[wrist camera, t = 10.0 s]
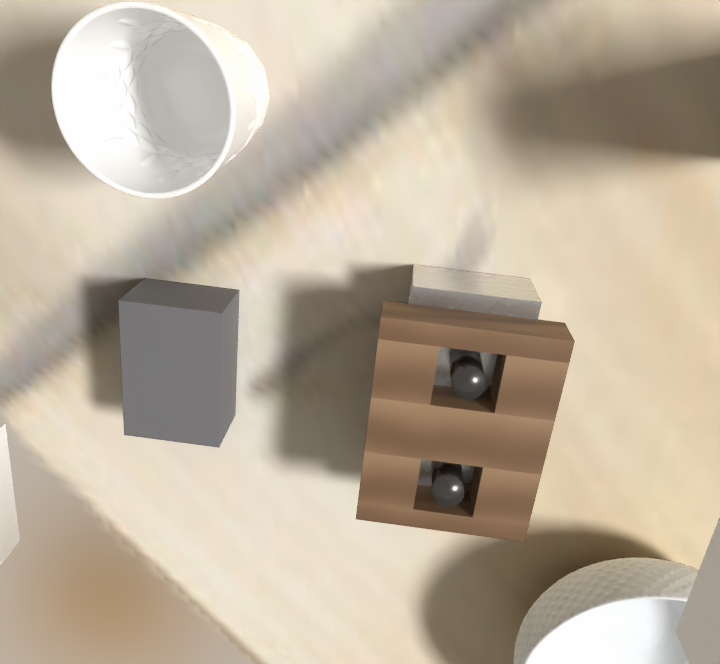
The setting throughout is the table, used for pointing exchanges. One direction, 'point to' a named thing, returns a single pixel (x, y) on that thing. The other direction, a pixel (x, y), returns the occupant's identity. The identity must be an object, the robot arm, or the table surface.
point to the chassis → (466, 367)
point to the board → (461, 419)
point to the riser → (178, 361)
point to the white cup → (155, 97)
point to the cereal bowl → (609, 615)
